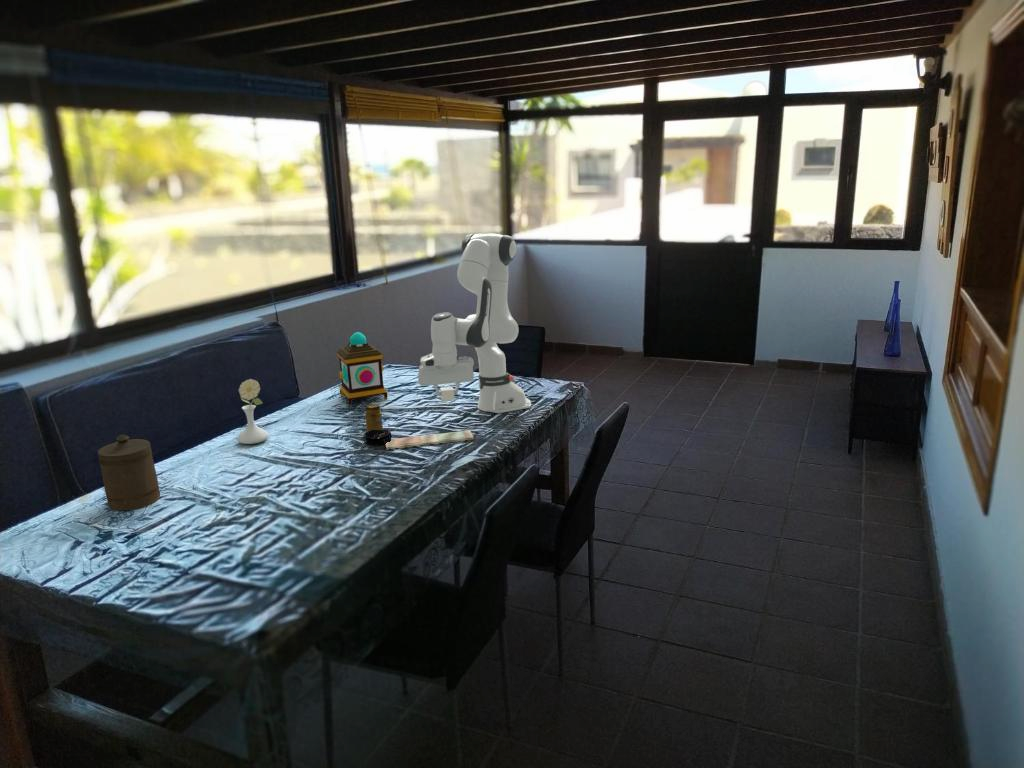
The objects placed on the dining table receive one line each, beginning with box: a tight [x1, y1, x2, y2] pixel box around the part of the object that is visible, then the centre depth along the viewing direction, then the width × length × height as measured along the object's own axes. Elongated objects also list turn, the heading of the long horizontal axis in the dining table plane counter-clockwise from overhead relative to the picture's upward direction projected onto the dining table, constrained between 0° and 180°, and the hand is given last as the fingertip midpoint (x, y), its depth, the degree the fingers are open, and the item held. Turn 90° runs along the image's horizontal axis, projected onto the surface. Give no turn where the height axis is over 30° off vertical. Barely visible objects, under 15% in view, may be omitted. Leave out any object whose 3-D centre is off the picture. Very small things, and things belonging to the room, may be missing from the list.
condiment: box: [362, 403, 384, 437], centre depth 281 cm, size 7×8×12 cm
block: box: [439, 386, 455, 402], centre depth 272 cm, size 4×4×4 cm
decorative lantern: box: [336, 331, 388, 406], centre depth 327 cm, size 20×20×30 cm
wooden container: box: [97, 434, 161, 512], centre depth 232 cm, size 15×15×22 cm
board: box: [385, 429, 475, 451], centre depth 275 cm, size 32×8×1 cm, turn 103°
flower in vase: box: [236, 378, 270, 445], centre depth 279 cm, size 13×11×25 cm
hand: (447, 394), depth 272 cm, fingers closed on block, 4 cm apart
